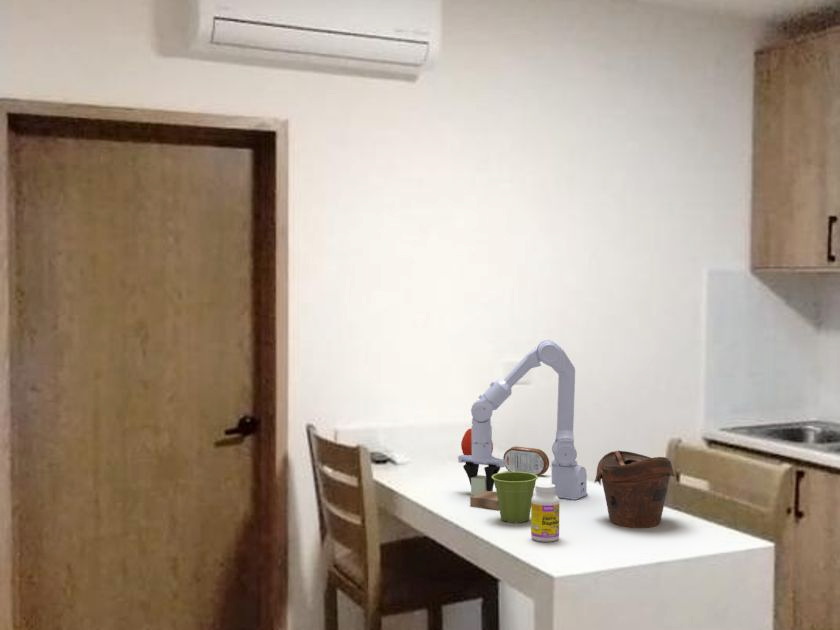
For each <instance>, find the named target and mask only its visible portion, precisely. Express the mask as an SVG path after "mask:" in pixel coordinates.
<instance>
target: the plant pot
mask: <svg viewBox="0 0 840 630" xmlns="http://www.w3.org/2000/svg"><path fill="white" fill-rule="evenodd" d="M492 479H493V480H494V488H495V492H497V497H498V503H499V509H500V510H499V512H500V519H501V521H503V522H508V523H511V524H515V523H516V524H521V523H524V522H525V521H529V520H530V517H531V499H532V497H533V496H534V489H535V488H536V484H537V483H536V482H537V480H538V479H539V476H537V475H535V474H532V473H526V472H509V471H503V472H498V473H497V474H494V475H492Z"/></svg>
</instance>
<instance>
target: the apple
mask: <svg viewBox="0 0 840 630" xmlns="http://www.w3.org/2000/svg"><path fill="white" fill-rule="evenodd" d="M460 447H461V452H462V455H472V428H468V429H467V430H466V431H465V433H464V435H463V436H462V440H461V445H460ZM493 450H494V443H493V442H492V452H494V451H493Z"/></svg>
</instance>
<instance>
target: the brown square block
mask: <svg viewBox="0 0 840 630" xmlns="http://www.w3.org/2000/svg"><path fill="white" fill-rule="evenodd" d="M469 499H470V500H469V507H473V508H474V507H475V508H479V509H486V510H491V511H493V510H494V511H499V512H500V509H499V503H498V497H497V491H493V492H492V491H485V492H483V493H480V494H477V495H474V496H472V495H470V497H469Z"/></svg>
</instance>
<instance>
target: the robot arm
mask: <svg viewBox="0 0 840 630" xmlns="http://www.w3.org/2000/svg"><path fill="white" fill-rule="evenodd" d="M541 363H543V364H545V365H547V366H548V367H550V368H552V370H553V371H554V372H556V373H557V374H558V377H557V378H558V380H557V381H558V385H557V410H556V411H557V412H556V413H557V414H556V415H557V416H556V431H555V439H554V440H555V441H554V442H553V444H552V448H551V451H552V453H553V456H554V459H553V460H552V461H551V484H554V485H555V492H554V494H555V495H556V496H557V497H558V498H559V499H567V500H575V501H576V500H579V499H581V498H583V497H586V496H588V495H589V494H588V492H587V491H588V490H587V488H588V487H587V483H588V482H587V476H588V475H587V474H588V473H587V469H586V468H585V466H582V465H578V461H577V460H576V459H577V455H578V454H577V453H578V451H577V449H576V447H575V436H574V420H575V418H574V416H575V415H574V414H575V392H576V391H575V390H576V389H575V387H576V386H575V385H576V367H575V366H574V364H573V363H572V361H571V360H570V358H569V357H568V355H567V353H566V352H565V351H564V349H563V348H562V347H561V346H560V345H558V344H557V343H556V342H554V341H553V340H550V339H547V340H546V339H544V340H543V341H541V342H539V343H538V345H537V347H536V346H535V347H533V349H531V350H530V351H529V352H528V353H527V354H525V356H524V357H523V358H522V359H521V360H520V361H519V362H518V363H517V364H516V366H514V368H513V369H512V370H510V372H509V373H508V374H507V376H505V377H504V379H497V380H495V382H494V381H492V382H490V384H489V386H490V387H489V388H488V389H486V390H485V392H484V393H482V394H479V396H478V399H477V400H476V401H475V402H473V404H471V405H472V406H471V409H470V410H471V411H470V413H471V416H472V419H471V424H472V425H471V429H472V455H464V454H460V455H458V461H457V462H458V463H460V464H463V463H465V464H464V465H463V469H464V471H465V473H466V475H467V478H468V480H469V484H470V486H471V478H472V477H475V476H478V475H479V474H478V473H479V468H480V465H481V466H483V465H484V466H485V467H484V469H483V470H484V474H485V476H486V481H487V491H492V490H493V491H494V486H495V484H494V480H493V479H492V475H494V474H497V473H500V470H501V468H506V467H505V466H506V460H504V459H503V458H497V457H494V456H493V455H492V454H493V451H492V443H493V439H492V433H493V432H492V431H493V430H492V429H493V427H492V425H491V421H492V420H491V417H492V416H493V411H496V410H498V409H499V408H500V406H502V405H503V404H504V403H505V401H506V400H507V399H508V398H510V396H511V395H512V388H513V386H515V385H516V384H517V383H518V382H519V381H520V380H521V379H522V378H523V377H524V376H525V375H526V374H527V373H528V372H529V371H531V370H532V369H535V368H538V367H541V366H542V364H541Z"/></svg>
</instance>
